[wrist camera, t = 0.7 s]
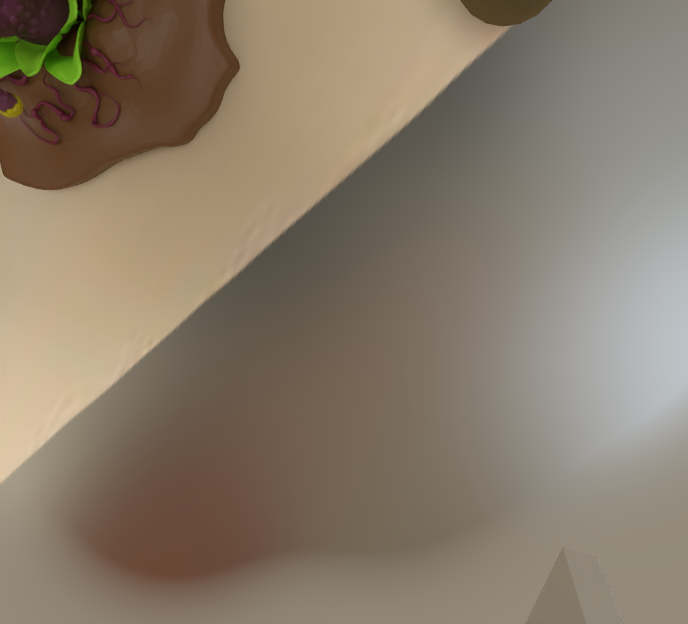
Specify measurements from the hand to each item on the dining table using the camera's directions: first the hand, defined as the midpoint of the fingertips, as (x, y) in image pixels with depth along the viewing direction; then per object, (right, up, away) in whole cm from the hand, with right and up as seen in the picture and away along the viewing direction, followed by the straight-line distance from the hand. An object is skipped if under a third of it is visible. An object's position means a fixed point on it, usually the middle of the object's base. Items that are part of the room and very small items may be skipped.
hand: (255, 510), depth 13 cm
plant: (-15, +23, +23) cm, 36 cm away
